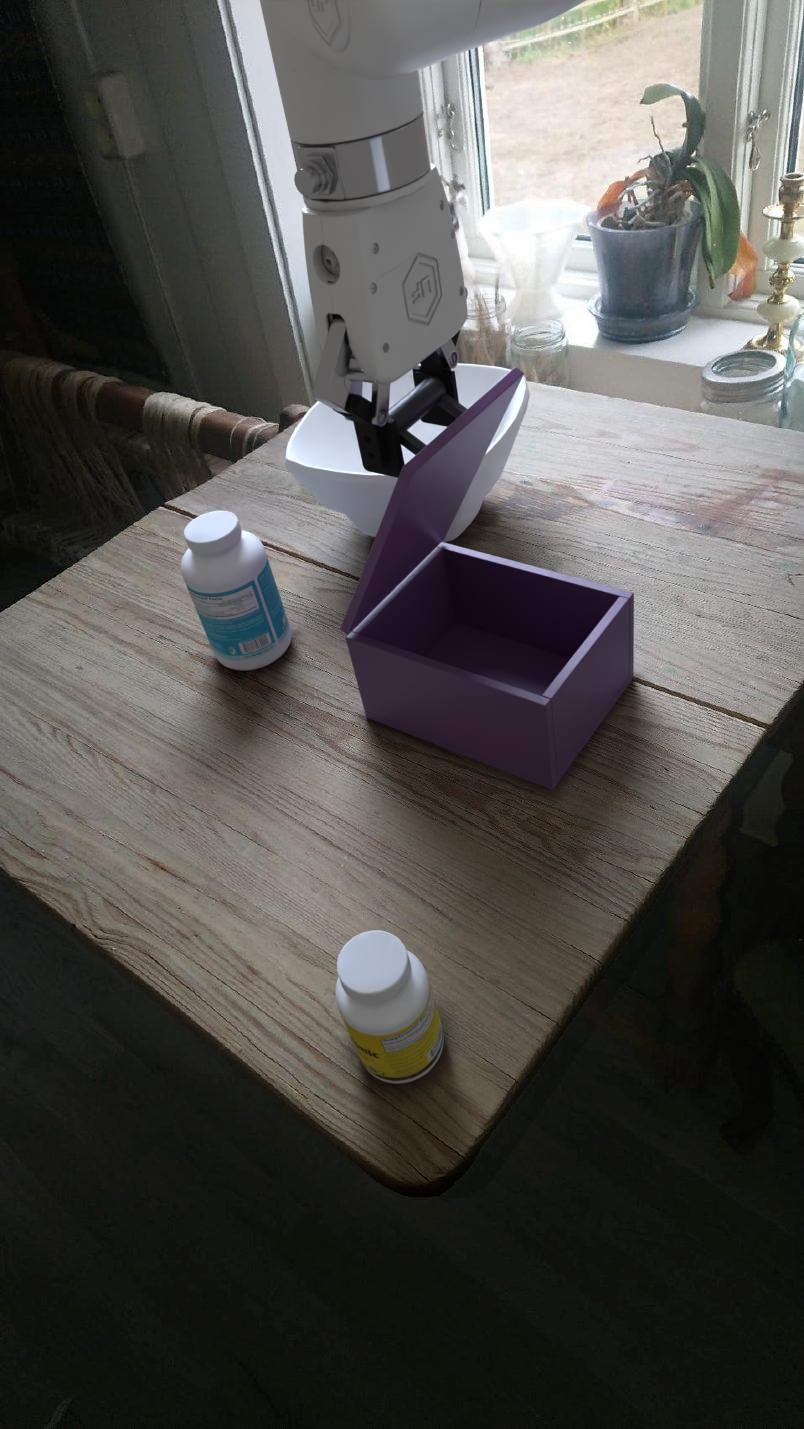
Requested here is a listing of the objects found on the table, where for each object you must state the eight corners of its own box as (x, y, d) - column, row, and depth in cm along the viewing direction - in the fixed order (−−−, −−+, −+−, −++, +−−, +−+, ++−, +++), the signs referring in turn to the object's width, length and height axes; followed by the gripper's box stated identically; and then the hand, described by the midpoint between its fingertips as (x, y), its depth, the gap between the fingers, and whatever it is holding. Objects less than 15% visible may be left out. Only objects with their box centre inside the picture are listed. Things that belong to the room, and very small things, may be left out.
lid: (524, 372, 66) (465, 329, 67) (412, 474, 59) (347, 424, 60) (444, 539, 82) (396, 503, 83) (347, 635, 75) (296, 595, 75)
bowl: (368, 455, 112) (348, 359, 104) (556, 466, 104) (550, 362, 96) (285, 570, 99) (254, 469, 91) (494, 592, 90) (481, 483, 82)
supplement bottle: (345, 1027, 61) (310, 943, 55) (423, 990, 62) (398, 902, 56) (377, 1103, 58) (344, 1021, 51) (459, 1062, 59) (437, 977, 52)
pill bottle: (252, 613, 94) (210, 493, 85) (309, 634, 90) (272, 510, 81) (199, 660, 90) (149, 539, 81) (256, 684, 87) (212, 560, 77)
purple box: (633, 677, 80) (634, 592, 74) (552, 790, 72) (545, 706, 66) (453, 621, 88) (441, 541, 82) (365, 717, 81) (344, 637, 75)
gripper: (319, 219, 49) (384, 524, 61) (499, 112, 58) (524, 396, 70) (213, 214, 53) (294, 501, 65) (397, 114, 62) (438, 383, 74)
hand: (413, 445), depth 67 cm, fingers closed on lid, 6 cm apart
